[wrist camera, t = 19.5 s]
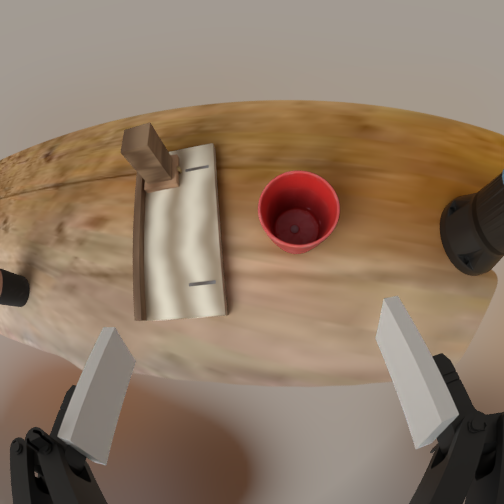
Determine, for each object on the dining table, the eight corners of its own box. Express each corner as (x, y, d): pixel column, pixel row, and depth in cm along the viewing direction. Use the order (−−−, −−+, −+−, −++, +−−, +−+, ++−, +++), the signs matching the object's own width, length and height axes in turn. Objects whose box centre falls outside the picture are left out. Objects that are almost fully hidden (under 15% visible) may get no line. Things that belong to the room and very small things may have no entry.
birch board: (215, 149, 50) (210, 137, 47) (227, 315, 42) (223, 314, 39) (146, 163, 51) (139, 153, 47) (145, 321, 43) (134, 320, 40)
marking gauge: (182, 157, 48) (159, 116, 37) (182, 186, 47) (156, 147, 35) (149, 165, 49) (120, 127, 37) (147, 193, 47) (115, 158, 35)
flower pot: (247, 232, 46) (239, 208, 36) (294, 188, 47) (297, 156, 37) (296, 278, 43) (300, 265, 34) (341, 229, 44) (356, 205, 35)
